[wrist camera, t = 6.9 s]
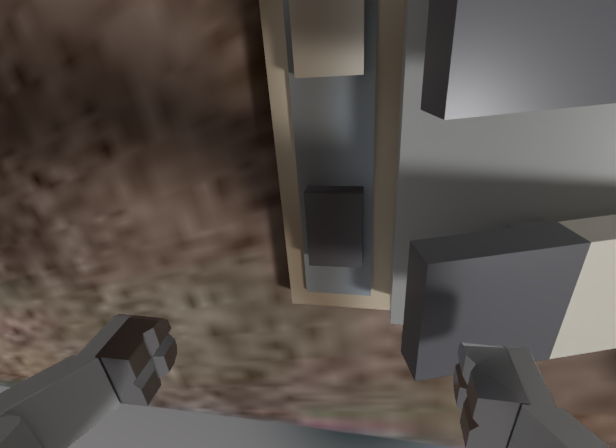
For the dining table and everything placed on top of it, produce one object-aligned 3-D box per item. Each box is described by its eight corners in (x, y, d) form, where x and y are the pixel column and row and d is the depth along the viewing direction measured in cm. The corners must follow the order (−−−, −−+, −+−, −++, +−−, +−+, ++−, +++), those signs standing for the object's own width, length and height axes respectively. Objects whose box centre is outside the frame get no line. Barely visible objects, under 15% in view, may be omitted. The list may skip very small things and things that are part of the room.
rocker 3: (652, 188, 12) (741, 222, 10) (609, 291, 14) (674, 338, 12) (394, 220, 11) (428, 264, 9) (388, 324, 13) (415, 381, 11)
